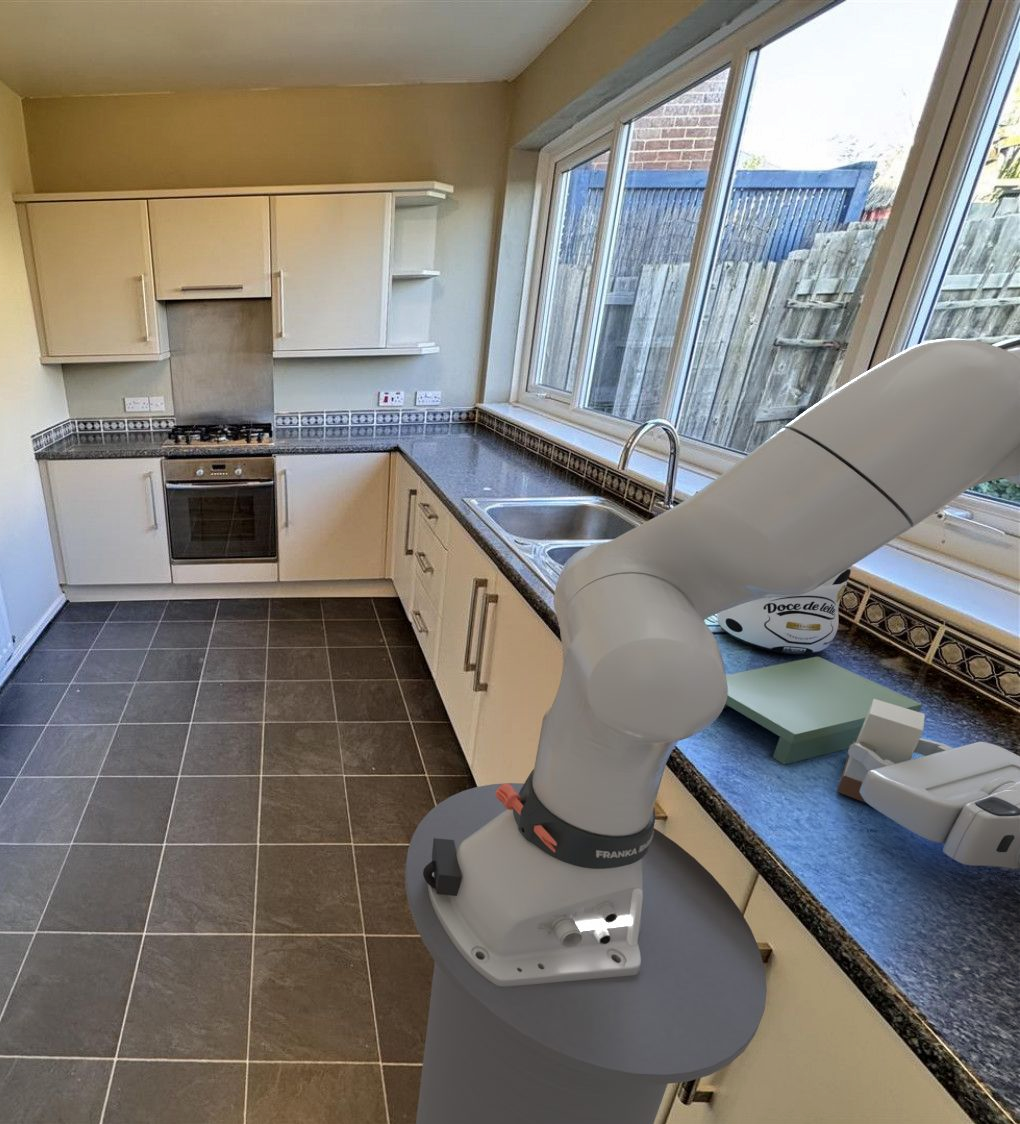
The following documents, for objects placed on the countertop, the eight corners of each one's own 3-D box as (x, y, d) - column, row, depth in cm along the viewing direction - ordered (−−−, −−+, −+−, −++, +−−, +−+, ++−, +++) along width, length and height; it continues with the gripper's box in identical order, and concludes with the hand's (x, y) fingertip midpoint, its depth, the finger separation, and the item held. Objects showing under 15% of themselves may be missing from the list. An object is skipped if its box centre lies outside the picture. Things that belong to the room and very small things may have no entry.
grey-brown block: (888, 811, 75) (924, 731, 70) (836, 791, 78) (868, 713, 74) (895, 772, 81) (928, 697, 77) (847, 755, 84) (876, 682, 80)
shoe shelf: (784, 764, 83) (795, 734, 82) (693, 707, 96) (700, 679, 94) (910, 733, 89) (922, 704, 87) (808, 682, 102) (818, 656, 100)
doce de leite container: (792, 672, 105) (826, 575, 98) (691, 629, 120) (714, 542, 113) (849, 650, 111) (884, 557, 105) (747, 612, 126) (772, 528, 119)
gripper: (1106, 779, 65) (943, 706, 78) (974, 819, 60) (822, 735, 73) (1078, 825, 67) (924, 747, 80) (949, 868, 62) (806, 777, 75)
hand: (874, 741), depth 76 cm, fingers closed on grey-brown block, 6 cm apart
